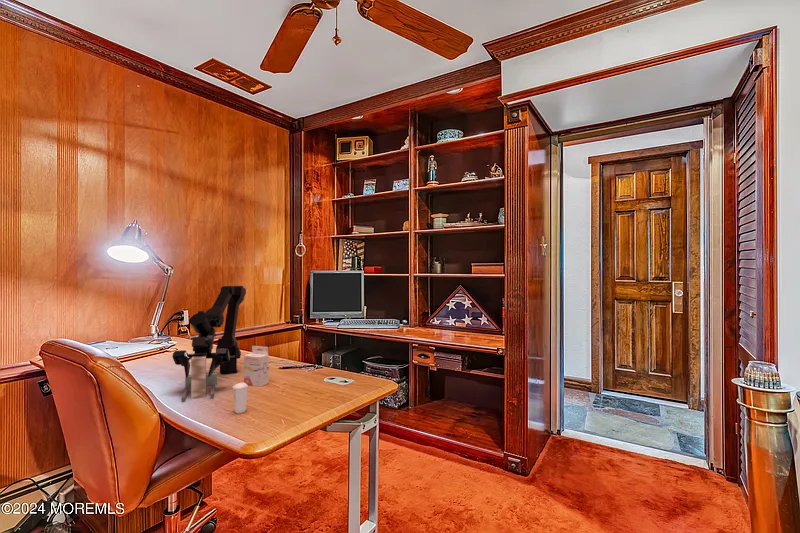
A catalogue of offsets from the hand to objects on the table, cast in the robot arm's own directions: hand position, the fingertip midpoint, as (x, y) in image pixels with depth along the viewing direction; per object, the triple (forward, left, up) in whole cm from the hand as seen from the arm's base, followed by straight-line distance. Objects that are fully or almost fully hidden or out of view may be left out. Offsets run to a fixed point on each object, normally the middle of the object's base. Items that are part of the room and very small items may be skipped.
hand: (197, 376), depth 141 cm
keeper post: (0, -1, -7) cm, 7 cm away
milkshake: (-13, +22, -7) cm, 27 cm away
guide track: (0, -7, -7) cm, 10 cm away
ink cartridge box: (-20, -8, -7) cm, 23 cm away
